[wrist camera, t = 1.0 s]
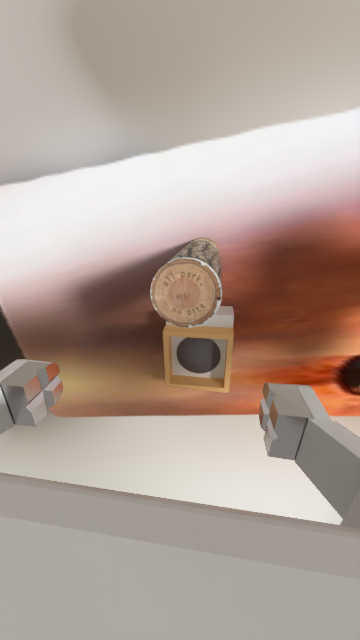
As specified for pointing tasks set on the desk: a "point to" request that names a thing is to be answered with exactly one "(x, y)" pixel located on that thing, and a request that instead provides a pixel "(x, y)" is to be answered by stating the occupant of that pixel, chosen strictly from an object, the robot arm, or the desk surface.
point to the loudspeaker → (200, 353)
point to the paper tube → (189, 285)
